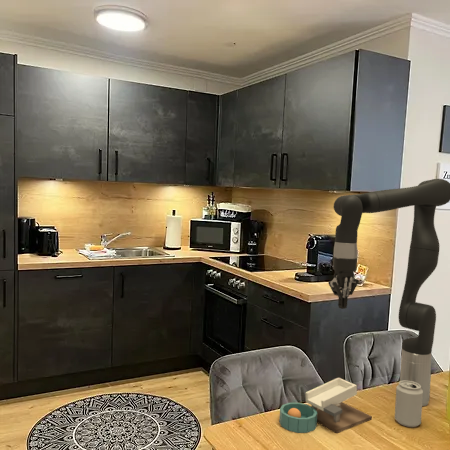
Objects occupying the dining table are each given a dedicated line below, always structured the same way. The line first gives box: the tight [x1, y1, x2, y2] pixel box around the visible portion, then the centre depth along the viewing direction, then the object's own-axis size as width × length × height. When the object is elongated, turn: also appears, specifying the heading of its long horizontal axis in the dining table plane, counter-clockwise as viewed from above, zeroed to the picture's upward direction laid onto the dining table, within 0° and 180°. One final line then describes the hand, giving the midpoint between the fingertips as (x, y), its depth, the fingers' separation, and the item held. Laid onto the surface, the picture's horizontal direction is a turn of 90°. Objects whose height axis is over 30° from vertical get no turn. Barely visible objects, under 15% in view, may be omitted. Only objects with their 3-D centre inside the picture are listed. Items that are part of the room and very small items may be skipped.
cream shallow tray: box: [304, 377, 358, 417], centre depth 140 cm, size 15×11×3 cm
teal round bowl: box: [278, 402, 318, 434], centre depth 136 cm, size 11×11×4 cm
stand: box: [310, 401, 373, 434], centre depth 141 cm, size 16×14×6 cm
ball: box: [288, 408, 301, 418], centre depth 136 cm, size 4×4×4 cm
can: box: [394, 380, 423, 428], centre depth 139 cm, size 8×8×12 cm
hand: (342, 308), depth 152 cm, fingers closed
